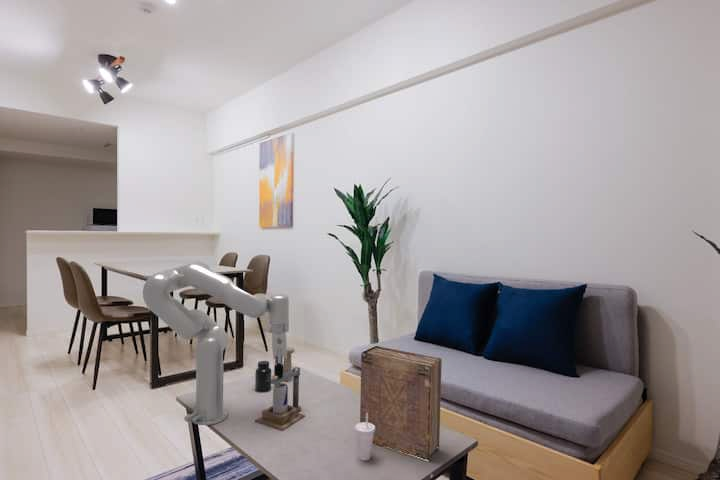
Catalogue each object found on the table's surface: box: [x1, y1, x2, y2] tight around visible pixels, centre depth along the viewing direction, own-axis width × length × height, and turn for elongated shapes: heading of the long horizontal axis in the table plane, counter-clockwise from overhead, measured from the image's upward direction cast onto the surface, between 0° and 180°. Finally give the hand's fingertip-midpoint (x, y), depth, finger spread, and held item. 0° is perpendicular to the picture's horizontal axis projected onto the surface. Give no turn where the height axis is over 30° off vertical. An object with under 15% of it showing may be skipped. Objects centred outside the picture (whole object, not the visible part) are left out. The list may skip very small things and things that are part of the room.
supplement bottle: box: [254, 360, 272, 393], centre depth 180 cm, size 7×7×12 cm
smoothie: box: [354, 413, 375, 461], centre depth 128 cm, size 6×6×14 cm
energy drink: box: [272, 382, 289, 415], centre depth 152 cm, size 5×5×12 cm
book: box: [359, 345, 443, 460], centre depth 136 cm, size 25×9×30 cm, turn 58°
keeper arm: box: [271, 366, 301, 386], centre depth 155 cm, size 15×3×3 cm, turn 151°
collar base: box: [254, 375, 306, 432], centre depth 154 cm, size 18×13×14 cm
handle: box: [283, 346, 295, 382], centre depth 191 cm, size 5×6×15 cm
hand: (278, 375), depth 155 cm, fingers closed
